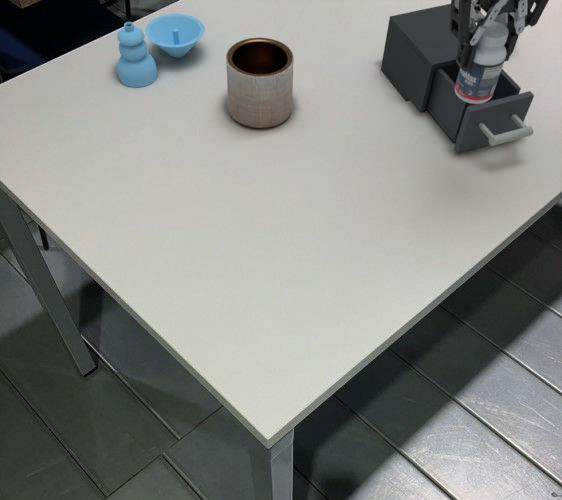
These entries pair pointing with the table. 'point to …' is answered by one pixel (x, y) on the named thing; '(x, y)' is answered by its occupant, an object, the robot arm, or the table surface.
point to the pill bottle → (484, 66)
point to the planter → (259, 82)
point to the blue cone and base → (164, 33)
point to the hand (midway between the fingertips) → (482, 62)
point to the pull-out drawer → (478, 111)
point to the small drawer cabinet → (418, 51)
